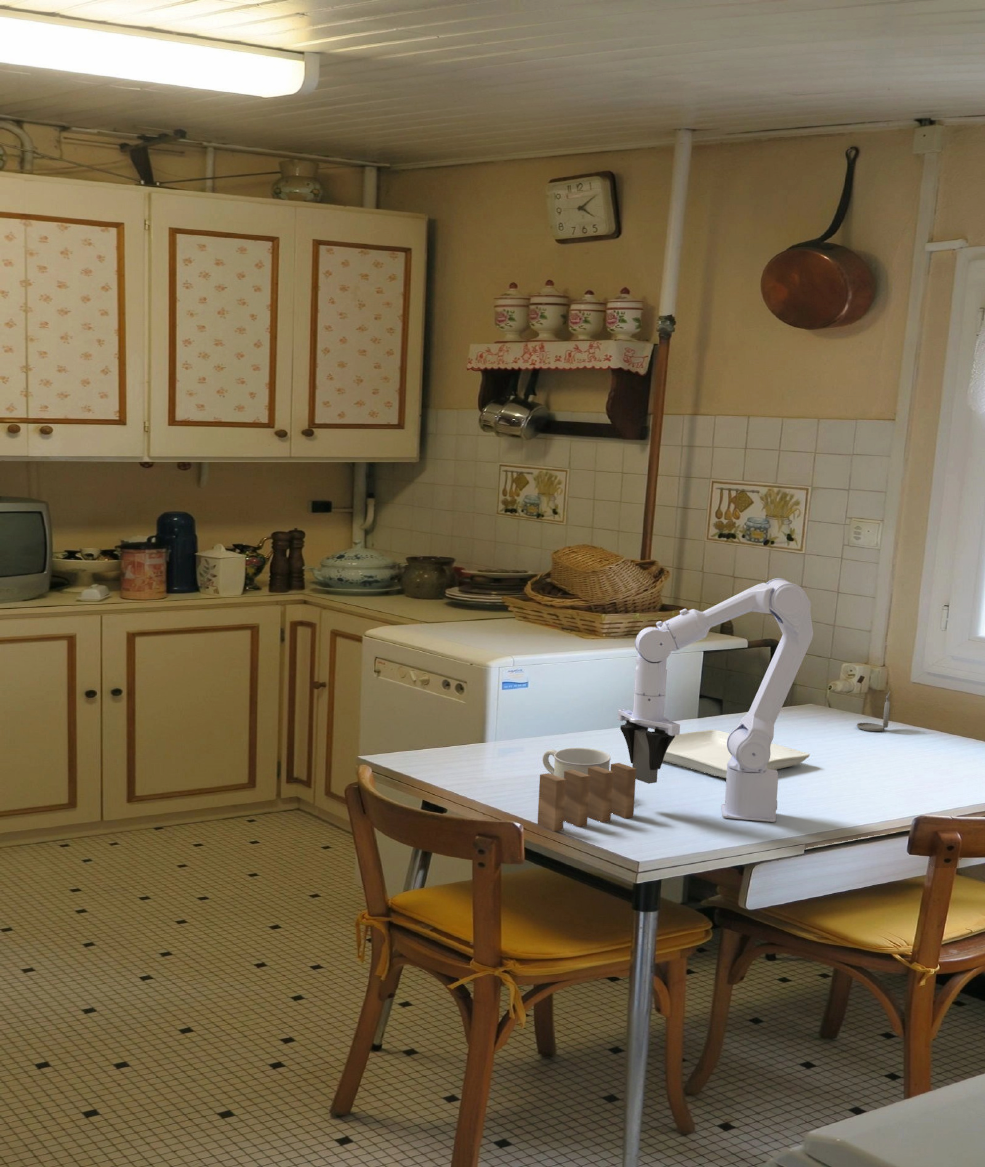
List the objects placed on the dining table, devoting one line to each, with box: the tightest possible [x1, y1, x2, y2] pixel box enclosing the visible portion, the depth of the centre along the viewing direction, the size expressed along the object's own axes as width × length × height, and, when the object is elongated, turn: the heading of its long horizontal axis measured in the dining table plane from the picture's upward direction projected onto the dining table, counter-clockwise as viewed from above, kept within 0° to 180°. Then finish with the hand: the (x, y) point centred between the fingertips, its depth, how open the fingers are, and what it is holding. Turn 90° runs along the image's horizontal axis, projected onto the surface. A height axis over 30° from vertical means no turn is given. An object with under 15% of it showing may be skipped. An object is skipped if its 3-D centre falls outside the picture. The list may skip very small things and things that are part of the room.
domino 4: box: [610, 762, 637, 819], centre depth 231 cm, size 2×5×9 cm, turn 36°
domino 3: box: [588, 766, 613, 823], centre depth 227 cm, size 2×5×9 cm, turn 36°
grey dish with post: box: [856, 691, 891, 732], centre depth 314 cm, size 8×8×10 cm
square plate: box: [663, 729, 811, 779], centre depth 274 cm, size 27×27×4 cm
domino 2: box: [563, 770, 590, 828], centre depth 224 cm, size 2×5×9 cm, turn 36°
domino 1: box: [536, 772, 566, 833], centre depth 221 cm, size 2×5×9 cm, turn 36°
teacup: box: [542, 747, 611, 779], centre depth 244 cm, size 14×11×8 cm
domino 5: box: [631, 729, 659, 785], centre depth 233 cm, size 2×5×9 cm, turn 36°
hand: (645, 766), depth 233 cm, fingers closed on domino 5, 5 cm apart
